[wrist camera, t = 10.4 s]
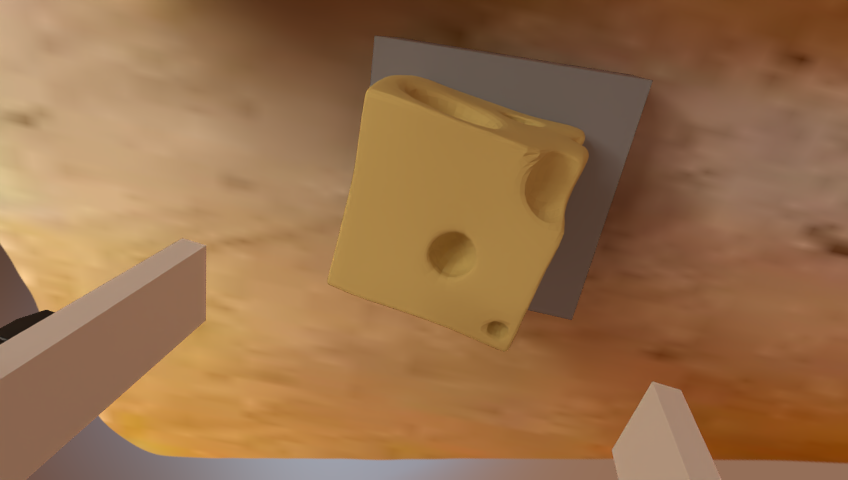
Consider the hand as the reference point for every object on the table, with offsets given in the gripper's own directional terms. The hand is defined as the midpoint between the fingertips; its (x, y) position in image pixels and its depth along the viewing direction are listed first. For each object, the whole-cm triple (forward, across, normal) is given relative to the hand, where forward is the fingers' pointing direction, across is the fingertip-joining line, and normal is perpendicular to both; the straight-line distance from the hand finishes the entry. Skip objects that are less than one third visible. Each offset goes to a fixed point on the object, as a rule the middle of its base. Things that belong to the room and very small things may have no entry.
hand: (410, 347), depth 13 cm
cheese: (+18, 0, 0) cm, 18 cm away
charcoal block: (+24, +1, -1) cm, 24 cm away
